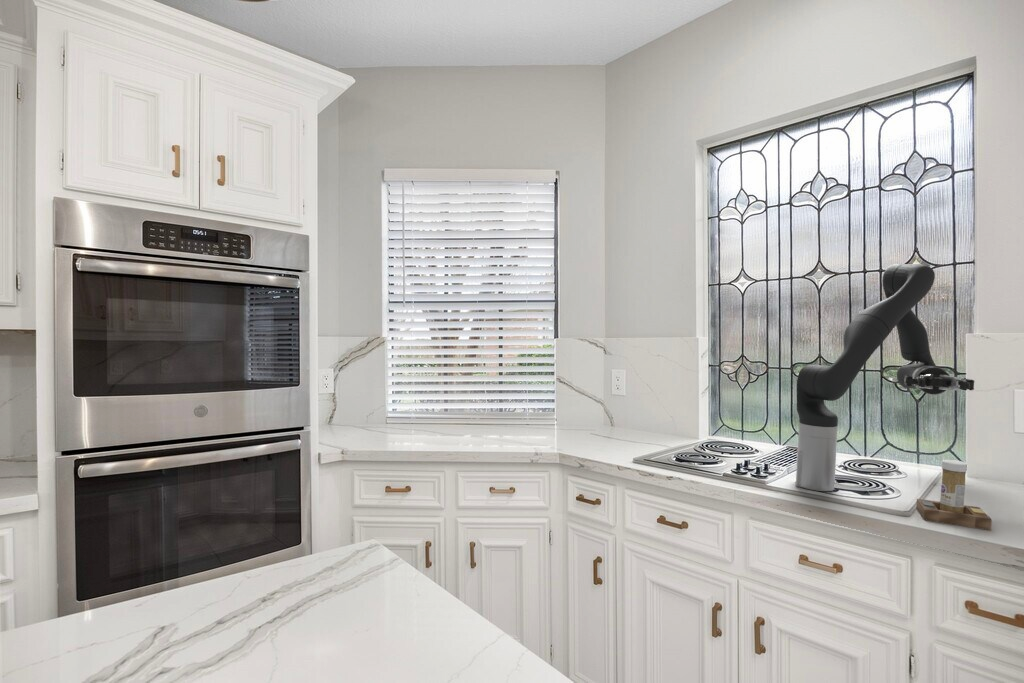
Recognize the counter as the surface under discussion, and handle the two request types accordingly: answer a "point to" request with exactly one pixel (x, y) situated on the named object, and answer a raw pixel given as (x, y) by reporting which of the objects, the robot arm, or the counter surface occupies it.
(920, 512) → the socket block
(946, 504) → the sprinkles bottle
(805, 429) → the robot arm
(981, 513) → the brass tag
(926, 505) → the slate tag
